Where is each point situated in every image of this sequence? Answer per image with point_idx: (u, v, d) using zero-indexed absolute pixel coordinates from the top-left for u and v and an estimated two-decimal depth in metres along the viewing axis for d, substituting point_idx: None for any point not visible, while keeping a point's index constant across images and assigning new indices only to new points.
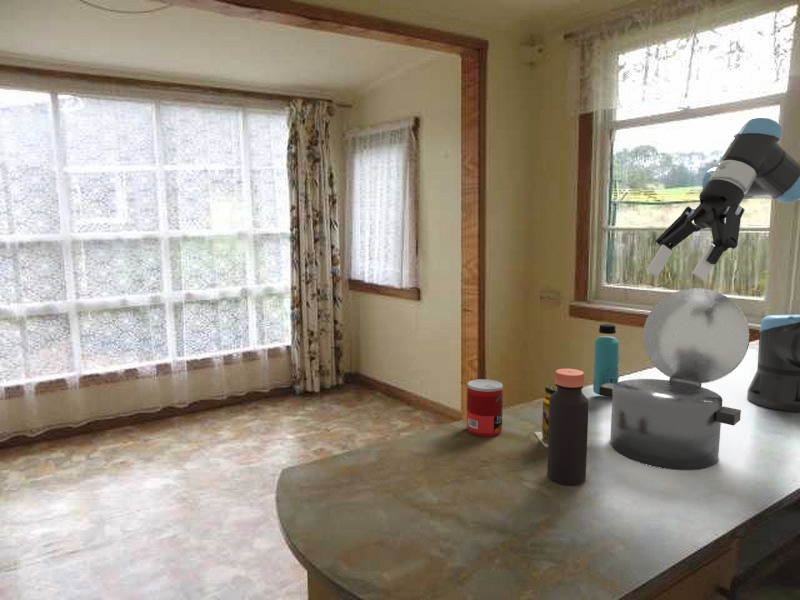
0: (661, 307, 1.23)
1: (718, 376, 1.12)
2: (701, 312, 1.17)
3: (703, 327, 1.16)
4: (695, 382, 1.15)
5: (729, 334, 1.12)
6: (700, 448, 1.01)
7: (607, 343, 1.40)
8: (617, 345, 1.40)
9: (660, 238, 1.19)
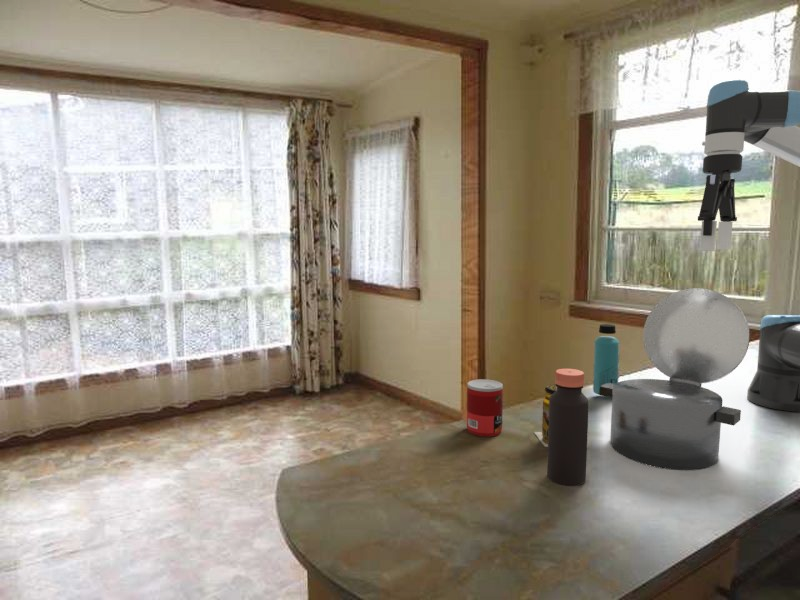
0: (661, 307, 1.23)
1: (718, 376, 1.12)
2: (701, 312, 1.17)
3: (703, 327, 1.16)
4: (695, 382, 1.15)
5: (729, 334, 1.12)
6: (700, 448, 1.01)
7: (607, 343, 1.40)
8: (617, 345, 1.40)
9: None
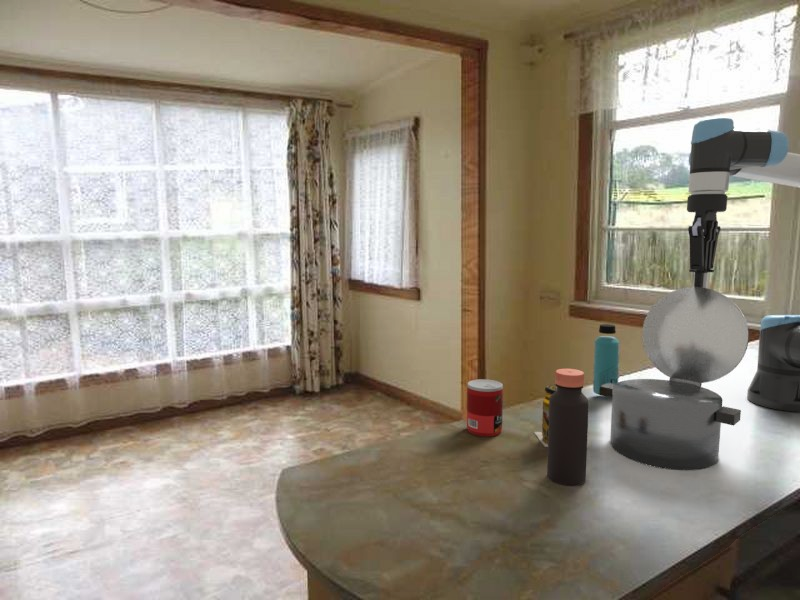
0: (659, 306, 1.22)
1: (718, 376, 1.12)
2: (699, 311, 1.16)
3: (702, 326, 1.15)
4: (695, 382, 1.15)
5: (728, 333, 1.12)
6: (700, 448, 1.01)
7: (607, 343, 1.40)
8: (617, 345, 1.40)
9: None
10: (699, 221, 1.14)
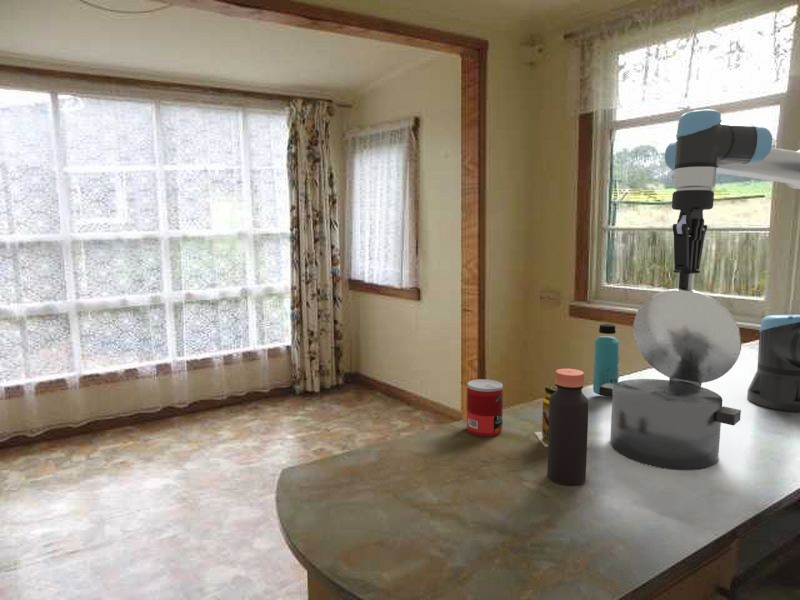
0: (646, 310, 1.17)
1: (716, 377, 1.11)
2: (687, 315, 1.11)
3: (692, 330, 1.11)
4: (695, 382, 1.15)
5: (719, 337, 1.08)
6: (700, 448, 1.01)
7: (607, 343, 1.40)
8: (617, 345, 1.40)
9: None
10: (684, 219, 1.08)
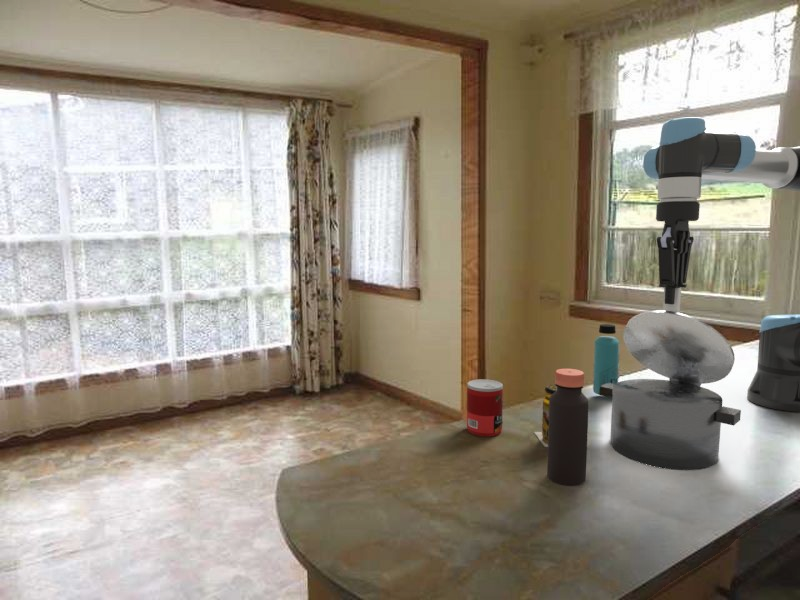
0: (632, 327, 1.13)
1: (714, 380, 1.11)
2: (675, 334, 1.07)
3: (683, 345, 1.08)
4: (694, 383, 1.15)
5: (711, 352, 1.05)
6: (700, 448, 1.01)
7: (607, 343, 1.40)
8: (617, 345, 1.40)
9: None
10: (669, 231, 1.03)
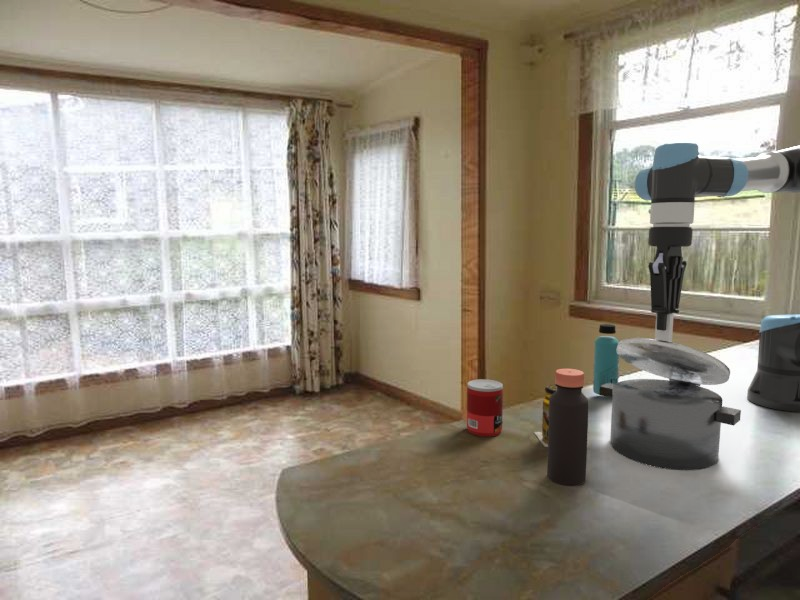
0: (624, 349, 1.11)
1: (713, 384, 1.10)
2: (667, 356, 1.06)
3: (677, 362, 1.07)
4: (694, 384, 1.15)
5: (706, 369, 1.04)
6: (700, 448, 1.01)
7: (607, 343, 1.40)
8: (617, 345, 1.40)
9: None
10: (661, 257, 1.01)
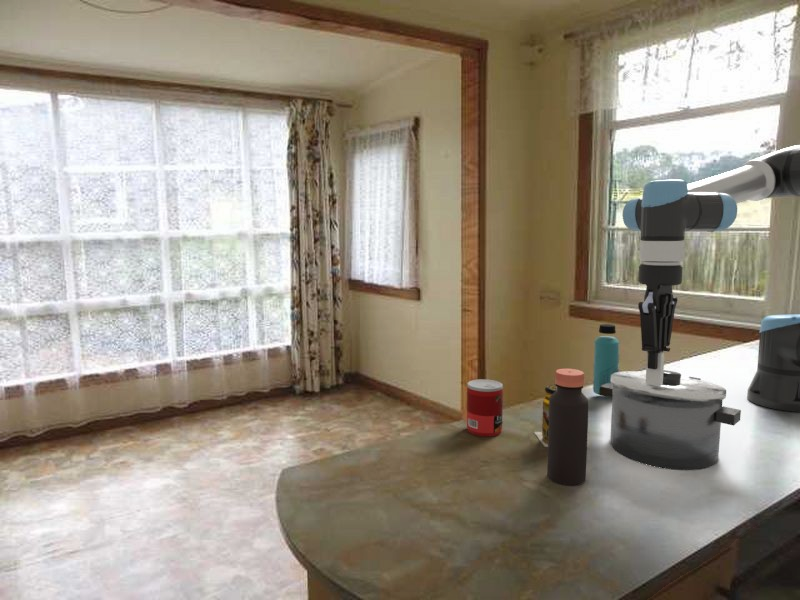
0: None
1: None
2: None
3: None
4: None
5: None
6: (700, 448, 1.01)
7: (607, 343, 1.40)
8: (617, 345, 1.40)
9: None
10: (651, 296, 1.00)
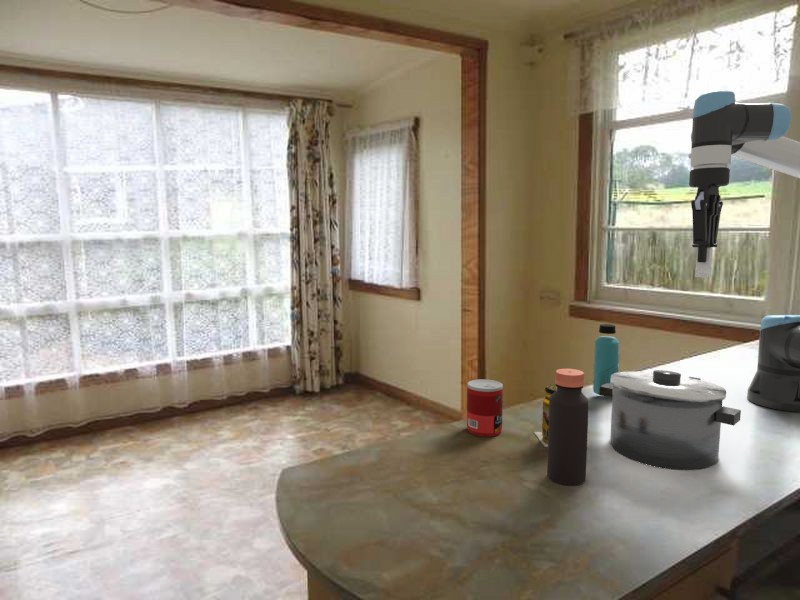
0: None
1: None
2: None
3: None
4: None
5: None
6: (700, 448, 1.01)
7: (607, 343, 1.40)
8: (617, 345, 1.40)
9: None
10: (702, 195, 1.13)
